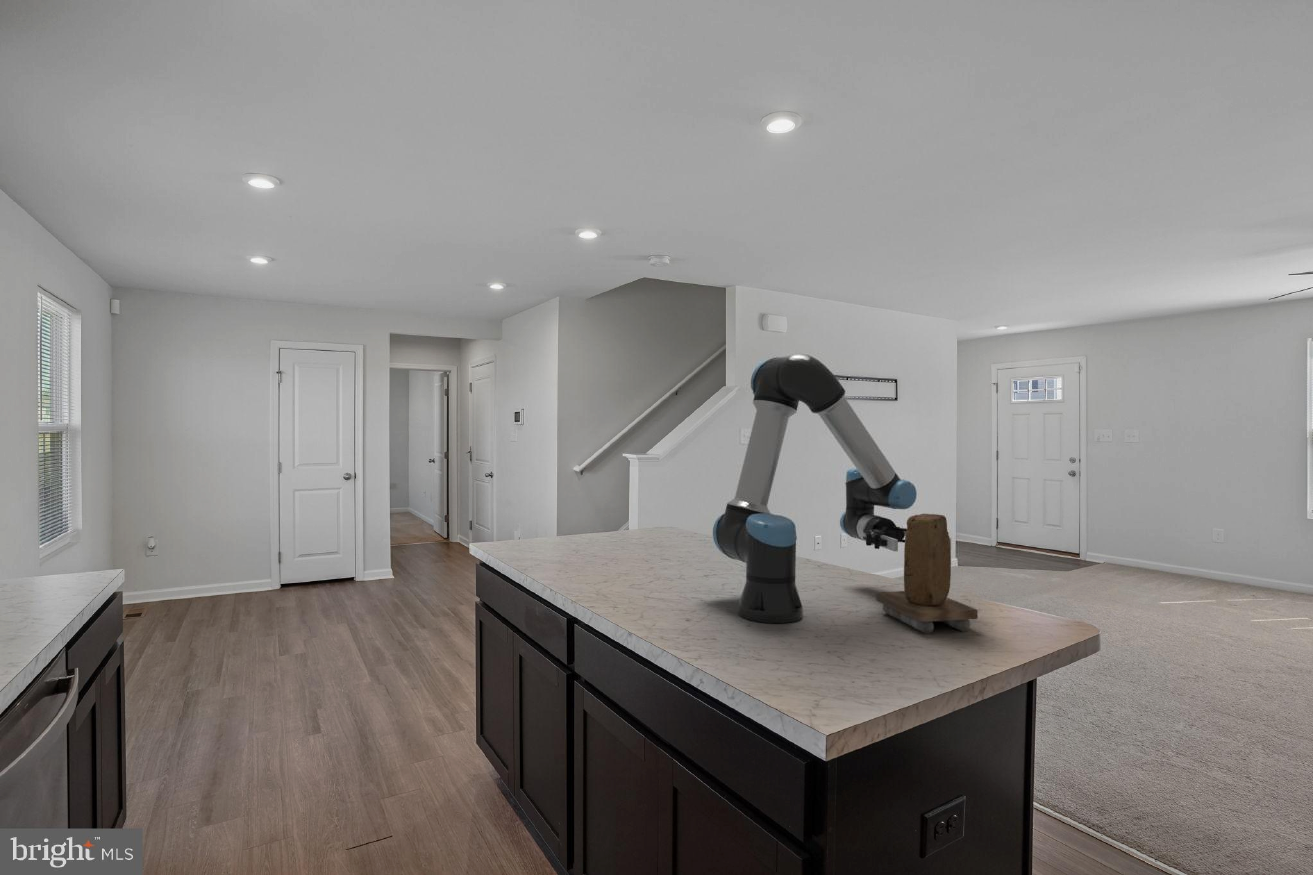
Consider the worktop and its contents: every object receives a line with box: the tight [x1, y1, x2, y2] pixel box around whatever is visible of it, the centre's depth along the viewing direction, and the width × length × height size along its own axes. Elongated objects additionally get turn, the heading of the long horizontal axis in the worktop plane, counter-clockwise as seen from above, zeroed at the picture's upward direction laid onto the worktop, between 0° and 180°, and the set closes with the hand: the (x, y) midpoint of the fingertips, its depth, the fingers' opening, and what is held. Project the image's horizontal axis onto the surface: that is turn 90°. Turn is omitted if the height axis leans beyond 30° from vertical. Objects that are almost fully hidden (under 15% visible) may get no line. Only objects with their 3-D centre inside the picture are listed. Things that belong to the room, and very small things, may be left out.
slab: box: [876, 590, 979, 635], centre depth 155 cm, size 14×18×5 cm
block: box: [903, 513, 952, 606], centre depth 154 cm, size 11×8×20 cm
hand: (923, 544), depth 156 cm, fingers open, 13 cm apart
